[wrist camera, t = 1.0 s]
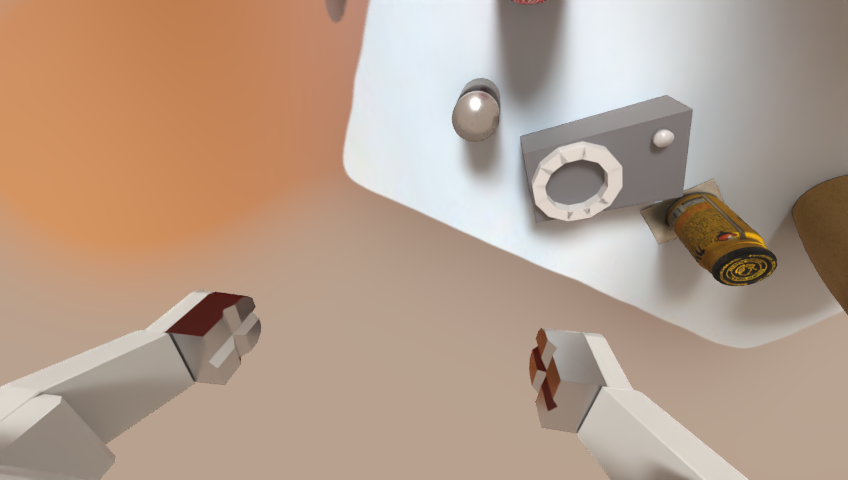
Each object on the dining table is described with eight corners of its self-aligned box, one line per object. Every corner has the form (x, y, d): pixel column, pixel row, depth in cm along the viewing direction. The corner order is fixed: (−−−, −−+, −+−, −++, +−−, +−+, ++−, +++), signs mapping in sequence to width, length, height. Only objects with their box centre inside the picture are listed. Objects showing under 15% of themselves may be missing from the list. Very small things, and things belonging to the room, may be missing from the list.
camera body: (666, 95, 34) (700, 113, 28) (661, 173, 39) (688, 203, 33) (520, 136, 40) (523, 158, 34) (532, 200, 45) (537, 228, 39)
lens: (494, 71, 36) (493, 85, 30) (503, 113, 39) (503, 134, 32) (455, 86, 38) (445, 102, 32) (466, 125, 40) (459, 147, 34)
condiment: (730, 216, 41) (796, 279, 32) (658, 243, 45) (699, 305, 36) (712, 177, 38) (780, 232, 29) (639, 209, 43) (677, 266, 33)
